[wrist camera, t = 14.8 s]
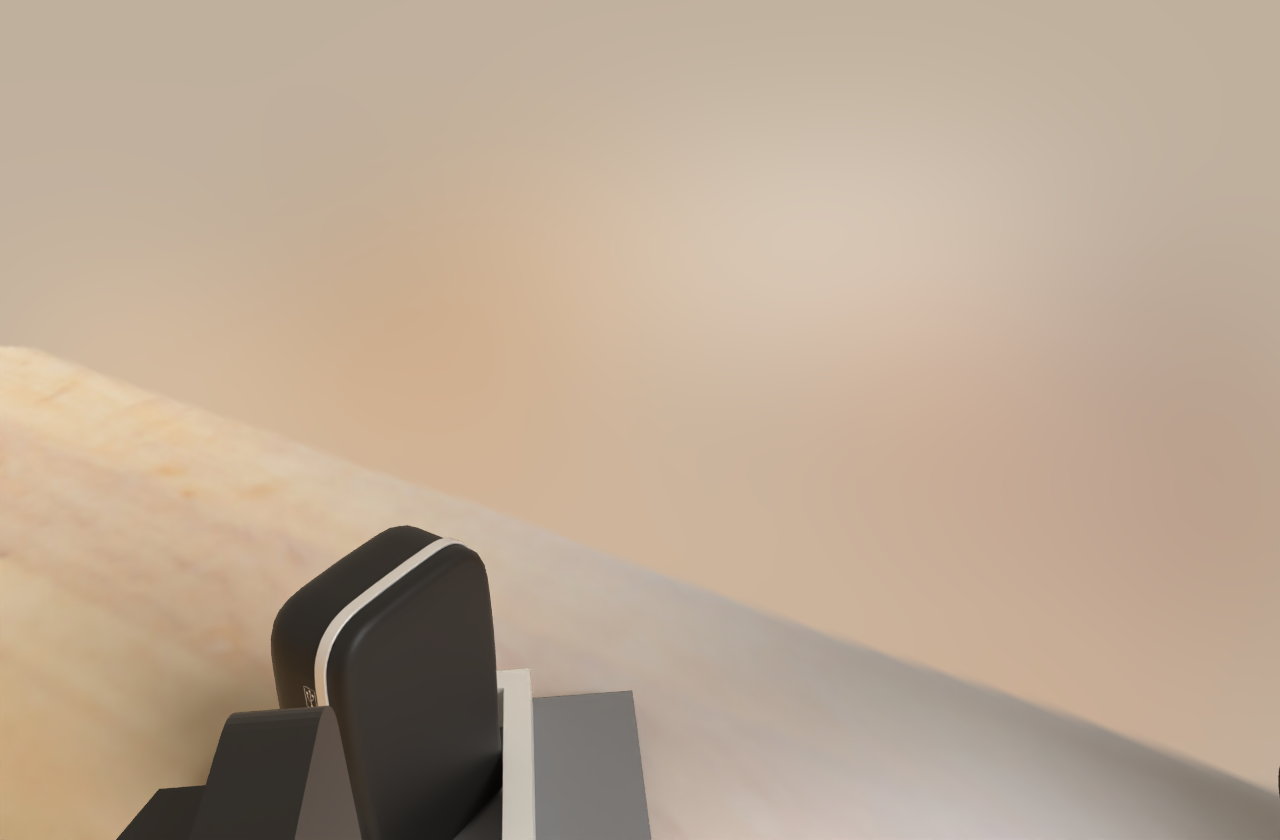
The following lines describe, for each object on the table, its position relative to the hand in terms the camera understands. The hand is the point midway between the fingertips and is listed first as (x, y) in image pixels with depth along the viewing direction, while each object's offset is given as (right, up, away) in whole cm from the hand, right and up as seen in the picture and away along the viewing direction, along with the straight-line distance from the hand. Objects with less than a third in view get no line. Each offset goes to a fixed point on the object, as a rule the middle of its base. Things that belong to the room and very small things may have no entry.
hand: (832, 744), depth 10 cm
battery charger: (-10, -12, +32) cm, 36 cm away
